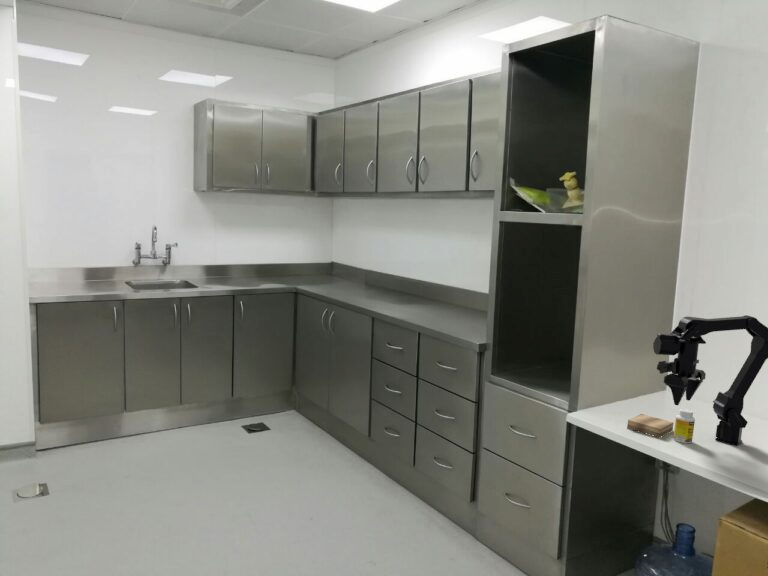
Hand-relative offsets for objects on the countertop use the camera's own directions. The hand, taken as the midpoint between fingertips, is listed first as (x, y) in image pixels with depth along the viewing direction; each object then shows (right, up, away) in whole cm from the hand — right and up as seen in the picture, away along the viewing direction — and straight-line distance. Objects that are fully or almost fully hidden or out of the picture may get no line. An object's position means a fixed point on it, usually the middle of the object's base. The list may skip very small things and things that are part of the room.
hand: (682, 402), depth 207 cm
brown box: (-7, -11, +8) cm, 15 cm away
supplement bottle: (0, -13, -1) cm, 13 cm away
